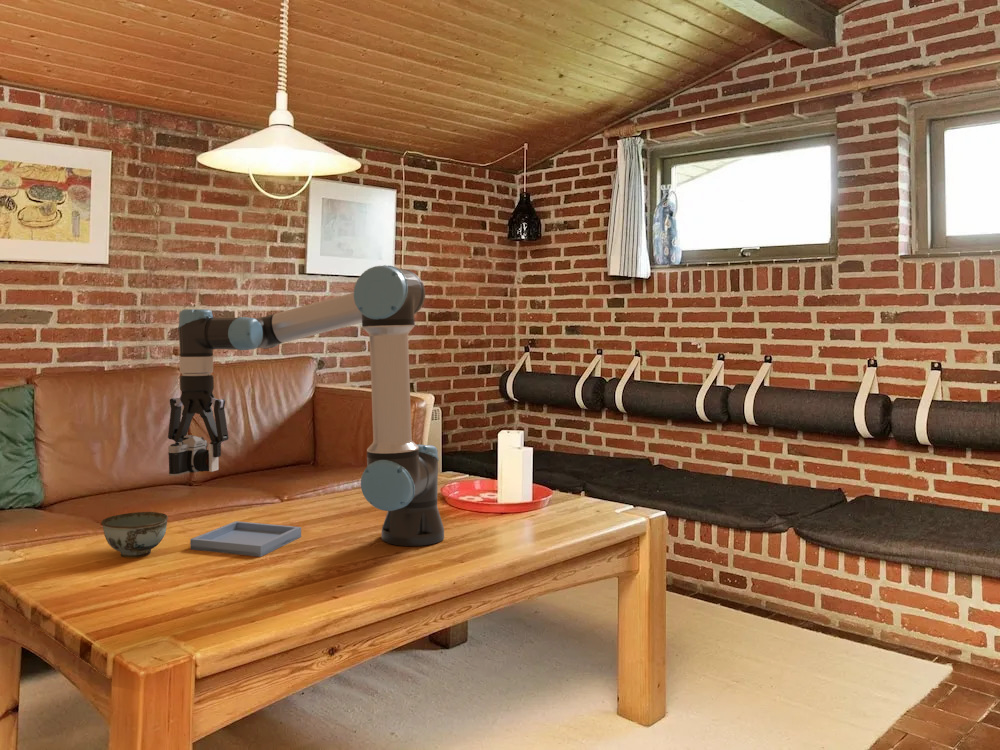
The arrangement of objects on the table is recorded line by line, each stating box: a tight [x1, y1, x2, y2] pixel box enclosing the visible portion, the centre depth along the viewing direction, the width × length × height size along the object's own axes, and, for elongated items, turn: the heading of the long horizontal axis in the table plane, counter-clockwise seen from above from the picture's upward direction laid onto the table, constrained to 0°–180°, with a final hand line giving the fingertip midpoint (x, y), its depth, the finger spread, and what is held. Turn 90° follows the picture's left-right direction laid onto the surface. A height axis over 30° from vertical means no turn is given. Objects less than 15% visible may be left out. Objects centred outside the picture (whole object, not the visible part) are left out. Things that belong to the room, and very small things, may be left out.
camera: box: [167, 434, 210, 477], centre depth 196 cm, size 13×8×9 cm, turn 167°
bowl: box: [100, 511, 169, 559], centre depth 183 cm, size 14×13×8 cm
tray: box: [189, 520, 302, 558], centre depth 194 cm, size 18×18×2 cm
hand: (198, 469), depth 197 cm, fingers closed on camera, 8 cm apart
